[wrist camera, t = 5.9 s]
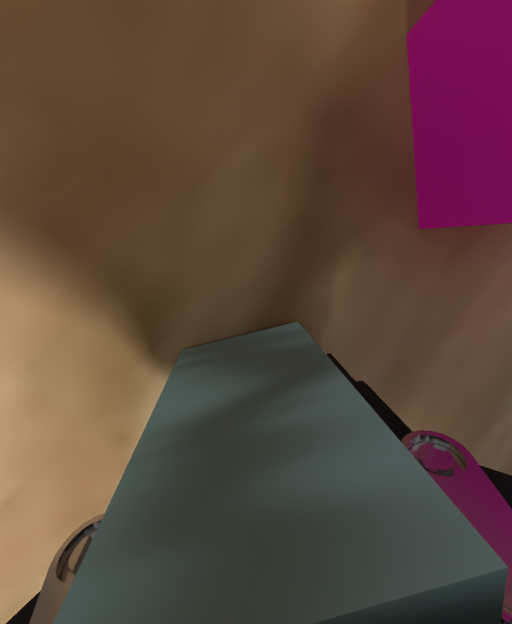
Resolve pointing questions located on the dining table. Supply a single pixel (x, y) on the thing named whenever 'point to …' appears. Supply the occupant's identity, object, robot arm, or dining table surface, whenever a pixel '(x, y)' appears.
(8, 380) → the dining table surface
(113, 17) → the dining table surface
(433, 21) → the toy block
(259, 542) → the teal block
